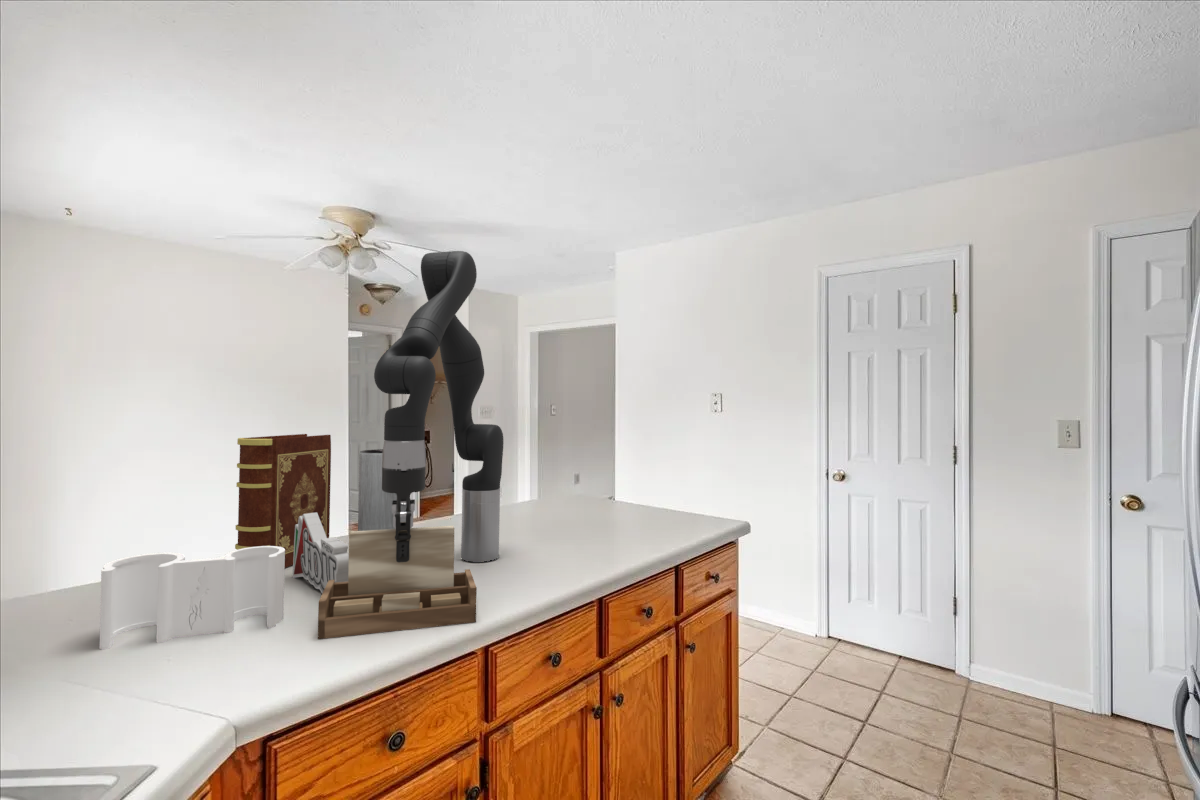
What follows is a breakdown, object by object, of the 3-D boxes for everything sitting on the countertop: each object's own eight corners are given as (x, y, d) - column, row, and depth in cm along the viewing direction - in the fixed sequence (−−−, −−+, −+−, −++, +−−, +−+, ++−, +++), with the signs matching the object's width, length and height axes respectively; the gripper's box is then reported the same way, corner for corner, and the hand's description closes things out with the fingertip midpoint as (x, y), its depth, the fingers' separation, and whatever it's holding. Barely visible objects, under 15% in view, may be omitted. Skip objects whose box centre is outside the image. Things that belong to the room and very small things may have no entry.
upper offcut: (383, 606, 97) (383, 594, 97) (419, 603, 99) (419, 592, 99) (381, 611, 95) (381, 599, 95) (418, 608, 96) (418, 597, 96)
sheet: (349, 598, 100) (350, 531, 100) (452, 588, 106) (453, 525, 106) (348, 602, 98) (349, 534, 98) (453, 592, 104) (454, 528, 104)
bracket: (287, 609, 103) (288, 543, 103) (279, 628, 94) (280, 556, 94) (117, 627, 93) (119, 555, 93) (90, 651, 84) (92, 571, 84)
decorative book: (259, 578, 120) (262, 439, 120) (228, 575, 122) (231, 438, 122) (329, 552, 142) (332, 434, 142) (302, 549, 144) (305, 433, 144)
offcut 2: (430, 617, 100) (430, 595, 100) (459, 614, 101) (459, 592, 101) (430, 623, 97) (431, 600, 97) (460, 620, 99) (460, 597, 99)
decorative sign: (349, 611, 108) (354, 535, 107) (334, 615, 106) (339, 537, 105) (305, 574, 124) (309, 507, 123) (292, 576, 122) (295, 509, 121)
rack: (328, 613, 101) (328, 580, 101) (469, 600, 109) (469, 569, 109) (317, 639, 90) (318, 601, 90) (475, 622, 98) (476, 587, 98)
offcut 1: (335, 627, 95) (335, 601, 95) (373, 623, 97) (373, 597, 97) (332, 634, 92) (333, 606, 92) (372, 629, 94) (372, 603, 94)
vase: (408, 569, 128) (410, 451, 128) (362, 576, 123) (364, 453, 123) (397, 559, 136) (399, 448, 137) (353, 565, 131) (355, 450, 131)
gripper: (383, 461, 107) (382, 551, 107) (380, 469, 94) (378, 572, 94) (424, 460, 110) (423, 548, 110) (426, 468, 97) (425, 568, 97)
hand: (402, 558), depth 102 cm, fingers closed on sheet, 2 cm apart
